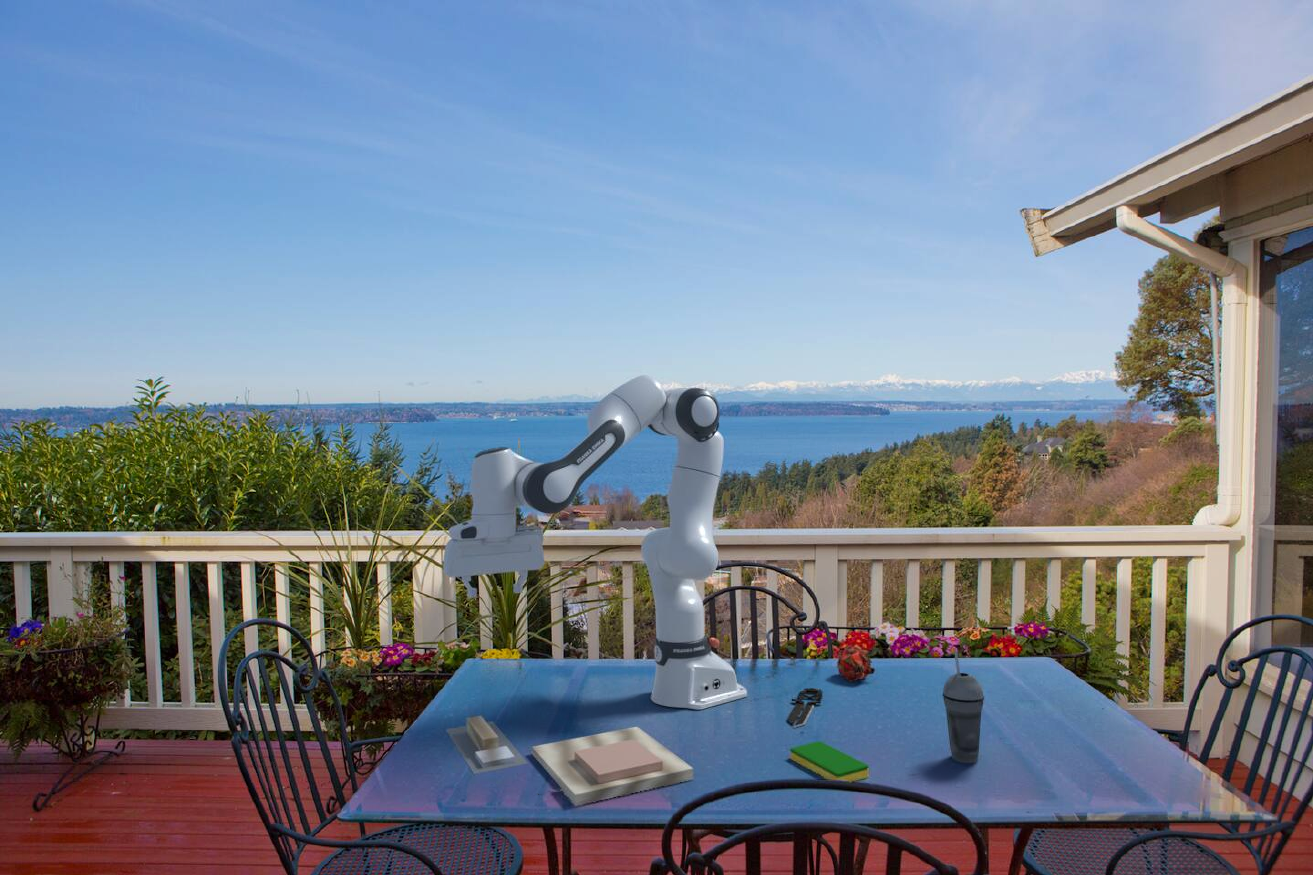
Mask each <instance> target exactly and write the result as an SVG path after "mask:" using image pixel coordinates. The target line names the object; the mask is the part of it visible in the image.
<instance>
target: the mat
mask: <svg viewBox="0 0 1313 875" xmlns="http://www.w3.org/2000/svg"><path fill="white" fill-rule="evenodd" d="M486 722H487V724H488V725H489V726H490V727H491V729H492V730H493V731H494V732H495V733H496V735H497V736H498V741H499V747H504V746H507V747H508V749H509V750H510V751H511V752H512V754H513V755H514V756H515V762H512V763H507V764H502V765H497V766H492V767H487V768H483V767H482V766H481V765H480V763H479V762H478V760H477V759H476V757H475V752H477V751H480V750H479V749H478V748H477V746H476V745H475V743H474V742H473V741H472V739H471V738H470V736H469V735H468V734H467V725H464V726H457V727H451V728H446V729H445V731H446V733H447V735H448V737H449V738H450V739H451V741H452V742H453V744H454V746H455V747H456V749H457V750H458V751H459V753H460V754H461V756H462V758H463V759H464V761H465V762H466V764H467V766H468V768H470V770H471V772H472V773H473V775H478V774H485V773H488V772H493V771H498V770H503V769H504V770H505V769H508V768H513V767H518V766H523V765H528V764H529V763H528V761H527V760H526V759H525V758H524V757H523V755H522V754H521V753H520V752H519V751H518V750H517V748H516V747H515V746H514V745H513V743H512V742H511V741H510V740H509V739H508V738H507V736H506V735H505V734H504V733H503V732H502V730H501V729H500V728H499V727H498V726H497V725H496V723H495V722H494V721H493V720H491V721H486Z"/></svg>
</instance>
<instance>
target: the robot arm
mask: <svg viewBox="0 0 1313 875" xmlns="http://www.w3.org/2000/svg"><path fill="white" fill-rule="evenodd" d="M586 420H587V421H586V426H587V431H588V432H589V433H588V434H587V436H586V437H585V438H584V439H582V441H580V442H579V443H578V444H577V445H576V446H574V447H573V448H572V449H571V450H570V451H569V452H568V453H567V454H565V455H564V456H563V457H561V458H559V459H557V460H554V461H549V462H545V463H543V462H536V461H534V460H531V459H528V458H526V457H523V456H521V455H519V454H518V453H516V452H514V451H513V450H512V449H511V448H510V447H505V446H501V447H493V448H489V449H484V450H481V451H479V452H477V453H476V454H475V455H474V457H473V459H472V464H471V474H470V494H471V497H472V503H473V504H472V508H471V519H468V520H466V521H463V522H460V523H458V524H456V525H453V526H451V527H449V528H448V536H449V537H450V538H451V539H449V540H448V541H447V542H446V545H445V547H444V553H443V566H442V567H443V568H442V569H443V573H444V574H445V576H446V577H449V578H450V579H451V578H460V577H461V581H462V583H463V585H464V586H465V587H466V589H467V598H468V599H475V598H478V594H477V593H478V589H477V588H476V587H472V585H471V584H470V582H471V581H472V576H473V577H474V576H481V575H495V574H504V573H515V572H517V573H518V575H519V578H518V581H517V583H513V585H512V586H513V590H512V591H513V593H514V594H515V595H516V594H522V593H523V591H524V590H523V585H524V583H525V581H526V580H527V578H528V573H529V572H528V571H537V570H541V569H542V568H543V567H544V565H545V555H544V548H543V543H544V531H543V529H542V528H541V527H539V526H537V525H536V524H529V525H517V518H516V517H517V516H516V510H517V507H520V506H521V507H523V508H528V509H531V510H536V511H538V512H540V513H543V514H546V515H551V514H552V515H553V514H559V513H560V512H563V510H565V509H567V508H568V507H569V506H570V505H571V503H572V502H573V500H574V498H575V497H576V495H577V493H578V491H579V489H580V487H581V486H582V484H583V483H584V482H585V481H586V480H587V479H588V478H589V477H590V476H591V475H592V474H593V473H594V472H596V470H598V469H599V468H600V467H601V466H602V465H603V464H604V463H605V462H607V460H608V459H609V458H611V457H612V456H613V454H614V453H616V452H617V451H618V450H619V449H621V447H623V446H624V445H626V444H627V443H628V442H630V441H631V440H632V439H634V438H635V437H637V436H638V435H639V434H640V433H641V432H643V430H644V429H646V428H649V430H651V431H652V432H654V433H655V434H658V435H661V436H672V437H676V440H677V446H678V447H677V448H678V449H677V455H676V458H675V462H674V466H673V470H672V474H671V479H670V483H669V487H668V492H667V496H666V503H667V506H668V507H669V508H668V509H669V527H668V526H667V527H661V528H657V529H654V530H651V531H650V532H648V533H647V534H646V535H645V536H644V538H643V540H642V543H641V547H640V553H641V557H642V560H643V562H644V563H645V565H646V568H647V570H648V571H647V572H648V575H649V580H650V585H651V589H652V594H653V600H654V605H655V606H654V607H655V634H656V636H655V637H654V659H655V674H654V683H653V688H652V692H651V696H650V699H651V701H652V702H653V703H655V704H657V705H660V706H664V707H670V708H683V709H684V708H685V709H692V710H704V709H707V708H708V709H709V708H711V707H714V706H718V705H722V704H726V703H729V702H732V701H733V702H734V701H735V700H739V699H743V698H746V697H747V696H748V692H747V691H748V690H747V688H745V687H744V686H743V685H741V684H740V683H738V681H737V675H736V673H735V668H733V667H732V665H731V664H730V663H729V662H727V661H725V659H723V658H721V656H719V655H717V654H716V653H715V652H713V651H712V649H711V647H712V648H713V649H717V648H719V646H720V640H719V639H718V638H715V637H711V638H710V637H709V636H706V635H705V625H704V623H705V622H704V602H703V599H702V598H701V596H700V594H699V592H698V589H697V585H696V583H695V581H696V582H697V581H703V580H706V579H707V578H709V577H711V576H712V575H713V574H714V572H715V571H716V569H717V567H718V564H719V552H718V548H717V546H716V544H715V540H714V529H713V528H714V526H713V525H714V524H713V523H714V522H713V521H714V520H713V518H714V516H713V515H714V507H715V501H716V497H717V493H718V488H719V482H720V478H721V474H722V467H723V461H724V451H725V450H724V449H725V448H724V446H725V445H724V444H725V442H724V441H725V440H724V438H723V436H722V434H721V432H719V431H718V430H719V428H720V423H719V422H720V421H719V420H720V406H719V403H718V400H717V398H716V397H715V395H714V394H713V393H711V392H710V391H708V390H706V389H705V388H704V389H703V388H699V387H688V388H687V387H678V388H674V389H668V390H667V389H666V390H665V389H664V387H663V386H662V385H661V383H660V382H659V381H658V380H657V379H655V378H654V377H652V376H649V375H639V376H636V377H634V378H631V379H630V380H629V381H627V382H625V383H623V384H621V385H620V386H618V387H616V388H615V389H613V390H612V391H611V392H609V393H608V394H607V395H605V396H604V397H603V398H602V399H601V400H599V401H598V402H597V403H596V404H595V406H594V407H593V408H592V409H591V410H590V411H589V412H588V414H587V418H586Z"/></svg>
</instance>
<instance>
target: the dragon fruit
mask: <svg viewBox="0 0 1313 875" xmlns="http://www.w3.org/2000/svg"><path fill="white" fill-rule="evenodd" d="M869 655H870V653H869V651H868V650H864V649H862V648H861V647H860V646H858V645H854V646H853V645H847V646H846V647H845V648H844V649H843V650H841V651H840V652H838V654H837V658H838V659H837V663H836V667H837V669H838V673H839V675H840V676H841V677H842V676H844V678H845V679H846V680H847V681H848V682H850V683H855V682H856V681H857V679H859V680H864V679H866V678H867V677H868V675H873V674H874V673H875V671H876V668H875V667H871V666H872V660H871V658H870V657H869Z"/></svg>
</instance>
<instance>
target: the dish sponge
mask: <svg viewBox="0 0 1313 875" xmlns="http://www.w3.org/2000/svg"><path fill="white" fill-rule="evenodd" d="M790 759H791V761H793V760H794V762H795V761H796V762H795V763H797V764H800V766H802V767H804V766H805V767H804V768H806V767H807V768H806V769H808V768H809V769H811V770H813V771H814V772H813V771H812V772H813V773H815V772H816V773H815V774H817V773H818V774H820V775H821V776H820V775H819V776H820V777H822V776H824V777H823V778H824V779H825V780H827V779H833V780H842V781H849V783H853V782H857V781H859V780H863V779H867V778H869V777H870V775H869V772H870V771H869V765H868V764H867V763H865V762H864V761H863V762H862V761H861V760H859V759H856V758H855V757H853V756H851V755H849V754H846V753H845V752H842V751H841V750H839V749H837V748H834V747H832V746H831V745H829V744H827V743H824V742H822V741H820V740H818V741H814V742H811V743H806V744H802V745H799V746H794V747H791V748H790ZM809 769H808V770H809ZM811 770H810V771H811ZM818 774H817V775H818Z"/></svg>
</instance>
